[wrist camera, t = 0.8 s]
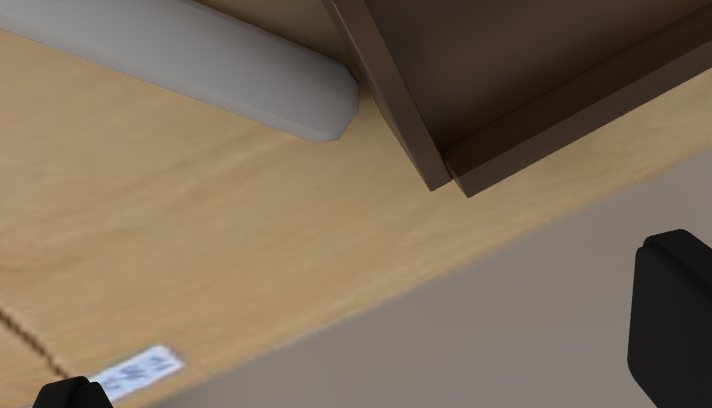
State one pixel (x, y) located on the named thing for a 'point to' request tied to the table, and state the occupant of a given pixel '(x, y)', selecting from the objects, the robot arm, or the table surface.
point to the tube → (199, 58)
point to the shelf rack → (514, 73)
